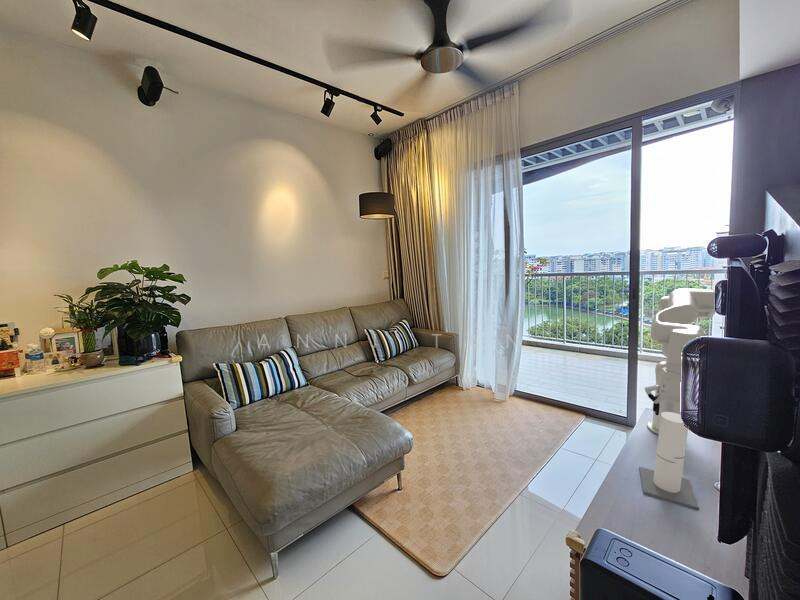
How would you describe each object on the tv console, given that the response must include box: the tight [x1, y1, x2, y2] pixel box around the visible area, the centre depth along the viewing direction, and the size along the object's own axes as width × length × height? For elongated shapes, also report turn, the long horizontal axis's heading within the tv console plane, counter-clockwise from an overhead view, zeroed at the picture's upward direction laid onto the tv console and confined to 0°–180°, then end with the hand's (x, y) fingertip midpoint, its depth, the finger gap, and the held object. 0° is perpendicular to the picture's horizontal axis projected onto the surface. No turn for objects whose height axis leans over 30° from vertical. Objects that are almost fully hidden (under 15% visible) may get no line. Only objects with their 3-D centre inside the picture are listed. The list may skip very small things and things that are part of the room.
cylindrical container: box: [653, 412, 689, 493], centre depth 110 cm, size 7×7×25 cm
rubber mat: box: [638, 466, 700, 510], centre depth 112 cm, size 14×14×1 cm
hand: (675, 417), depth 108 cm, fingers open, 9 cm apart
